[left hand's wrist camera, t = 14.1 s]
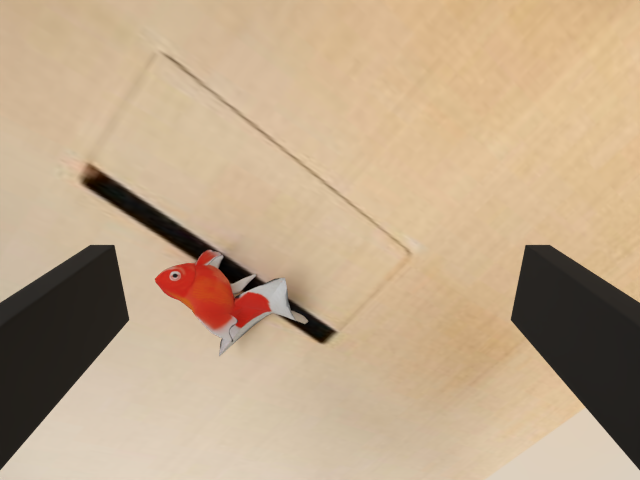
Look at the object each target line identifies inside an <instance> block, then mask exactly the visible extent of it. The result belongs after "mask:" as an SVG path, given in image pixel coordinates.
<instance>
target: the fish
mask: <svg viewBox="0 0 640 480" xmlns="http://www.w3.org/2000/svg"><path fill="white" fill-rule="evenodd" d="M222 259H223V255H222V254H221V253H220V252H214V251H212V250H207V251H206V252H203V253H202V254H201V256H200V257H199V259H198V260H197V262H196V263H185V264H181V265H176V266H173V267H170V268H168V269H166V270H164V271H163V272H161V273H160V274H159V275H158V276H157V277H156V278H155V282H156V283H157V284H158V285H159V287H160V288H161V289H162V290H163V292H164V293H165V294H167V295H168V296H170V297H172V298H174V299H177V300H180V301H181V302H182V303H184V304H185V305H186V306H187V307H189V308H190V309H191V310H192V311H193V313H194V314H195V316H196V317H197V318H198V319H199V320H200V321H201V322H202V324H203V325H204V326H205V327H206V328H207V329H208V330H209V331H210V332H211V333H213V334H215V335H216V336H218V337H220V338H222V340H221V344H220V353H219V356H220V355H221V354H223V353H224V352H225V351H226V350H227V349H228V348H229V347H230V346H231V345H232V344H234V343H235V342H236V341H237V340H238V339H239V338H240V337H241V336H242V335H244V334H245V333H246V332H247V331H248V330H249V329H250V328H251V327H253V326H254V325H255V324H256V323H258V322H259V321H260V320H262V319H263V318H264V317H266V316H267V315H269V314H271V313H275V314H278V315H282V316H285V317H288V318H290V319H293V320H296V321H298V322H301V323H304V324H306V323H307V322H308V320H307V319H306V318H305V317H304V316H302V315H301V314H299V313H297V312H295V311H291V309H290V306H289V302H288V293H287V286H286V281H285V278H278V279H274V280H272V281H269V282H267V283H265V284H263V285H261V286H258V287H256V288H253V289H251V290H249V291H247V292H244V293H242V294H240V295H238V296H236V297H235V298H234V296H233V294H237V293H239V292H240V291H241V290H243V288H244V287H245V286H246V285H247V284H248V283H249V282H250V281H251V280H252V279H253V278H254V277H255V276H256V274H254V275H252V276H249V277H246V278H244V279H241V280H240V281H238V282H236V283H234V284H230V283H229V281H228V279H227V278H226V277H225V275H224V274H223V273H222V272H221V271H220V270H219V269H218V268H219V266H220V263H221V261H222Z"/></svg>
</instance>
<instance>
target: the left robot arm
mask: <svg viewBox="0 0 640 480" xmlns="http://www.w3.org/2000/svg"><path fill="white" fill-rule="evenodd" d="M128 321H129V316H128V311H127V306H126V301H125V296H124V291H123V286H122V281H121V276H120V271H119V266H118V261H117V256H116V251H115V246H114V245H90V246H88V247H87V248H85V249H83V250H82V251H80V252H79V253H77V254H76V255H74V256H73V257H71V258H69V259H68V260H66V261H65V262H63V263H62V264H60V265H59V266H57V267H55V268H54V269H52V270H51V271H49V272H48V273H46V274H44V275H43V276H41V277H40V278H38V279H37V280H35V281H34V282H32V283H30V284H29V285H27V286H26V287H24V288H23V289H21V290H20V291H18V292H16V293H15V294H13V295H12V296H10V297H9V298H7V299H6V300H4V301H2V302H1V303H0V470H1V469H2V468H3V466H4V465H5V464H6V463H7V462H8V461H9V459H10V458H11V457H12V456H13V455H14V454H15V452H16V451H17V450H18V449H19V448H20V447H21V445H22V444H23V443H24V442H25V441H26V440H27V438H28V437H29V436H30V435H31V434H32V433H33V431H34V430H35V429H36V428H37V427H38V426H39V424H40V423H41V422H42V421H43V420H44V419H45V417H46V416H47V415H48V414H49V413H50V412H51V410H52V409H53V408H54V407H55V406H56V405H57V403H58V402H59V401H60V400H61V399H62V398H63V396H64V395H65V394H66V393H67V392H68V391H69V389H70V388H71V387H72V386H73V385H74V384H75V382H76V381H77V380H78V379H79V378H80V377H81V375H82V374H83V373H84V372H85V371H86V370H87V368H88V367H89V366H90V365H91V364H92V363H93V361H94V360H95V359H96V358H97V357H98V356H99V355H100V353H101V352H102V351H103V350H104V349H105V348H106V346H107V345H108V344H109V343H110V342H111V341H112V339H113V338H114V337H115V336H116V335H117V334H118V332H119V331H120V330H121V329H122V328H123V327H124V325H125V324H126V323H127V322H128ZM511 321H512V322H513V323H514V324H515V325H516V327H517V328H518V329H519V330H520V331H521V332H522V334H523V335H524V336H525V337H526V338H527V339H528V341H529V342H530V343H531V344H532V345H533V346H534V348H535V349H536V350H537V351H538V352H539V353H540V355H541V356H542V357H543V358H544V359H545V360H546V362H547V363H548V364H549V365H550V366H551V367H552V368H553V370H554V371H555V372H556V373H557V374H558V375H559V377H560V378H561V379H562V380H563V381H564V382H565V384H566V385H567V386H568V387H569V388H570V389H571V391H572V392H573V393H574V394H575V395H576V396H577V398H578V399H579V400H580V401H581V402H582V403H583V405H584V406H585V407H586V408H587V409H588V410H589V412H590V413H591V414H592V415H593V416H594V417H595V419H596V420H597V421H598V422H599V423H600V424H601V426H602V427H603V428H604V429H605V430H606V431H607V433H608V434H609V435H610V436H611V437H612V438H613V440H614V441H615V442H616V443H617V444H618V445H619V447H620V448H621V449H622V450H623V451H624V452H625V454H626V455H627V456H628V457H629V458H630V459H631V461H632V462H633V463H634V464H635V465H636V466H637V467H638V469H639V470H640V303H639V302H638V301H636V300H634V299H633V298H631V297H630V296H628V295H627V294H625V293H624V292H622V291H620V290H619V289H617V288H616V287H614V286H613V285H611V284H610V283H608V282H606V281H605V280H603V279H602V278H600V277H599V276H597V275H596V274H594V273H592V272H591V271H589V270H588V269H586V268H585V267H583V266H581V265H580V264H578V263H577V262H575V261H574V260H572V259H571V258H569V257H567V256H566V255H564V254H563V253H561V252H560V251H558V250H557V249H555V248H553V247H552V246H550V245H526V246H525V251H524V256H523V261H522V266H521V271H520V276H519V281H518V286H517V291H516V296H515V301H514V306H513V311H512V316H511Z"/></svg>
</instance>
